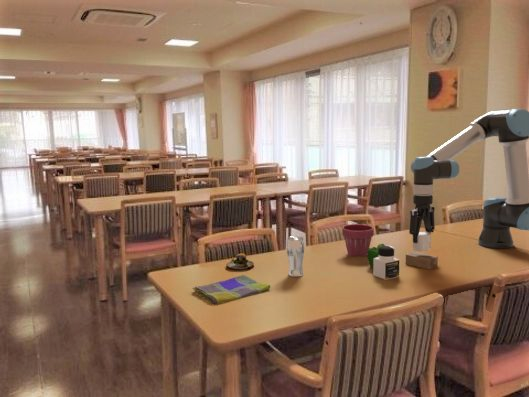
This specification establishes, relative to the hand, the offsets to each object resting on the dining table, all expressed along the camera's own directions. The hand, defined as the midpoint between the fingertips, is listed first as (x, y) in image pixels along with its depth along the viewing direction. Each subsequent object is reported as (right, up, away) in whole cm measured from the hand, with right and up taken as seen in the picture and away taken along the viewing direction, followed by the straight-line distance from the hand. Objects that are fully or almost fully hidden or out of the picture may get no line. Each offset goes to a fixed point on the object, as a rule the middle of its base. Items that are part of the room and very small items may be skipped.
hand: (421, 248), depth 190 cm
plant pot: (-23, -5, +20) cm, 31 cm away
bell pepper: (-19, -8, 0) cm, 20 cm away
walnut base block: (0, -7, +1) cm, 7 cm away
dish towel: (-78, -14, -24) cm, 83 cm away
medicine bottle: (-18, -10, -12) cm, 24 cm away
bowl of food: (-76, -9, +6) cm, 77 cm away
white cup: (0, 0, 0) cm, 1 cm away
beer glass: (-53, -10, -7) cm, 55 cm away
